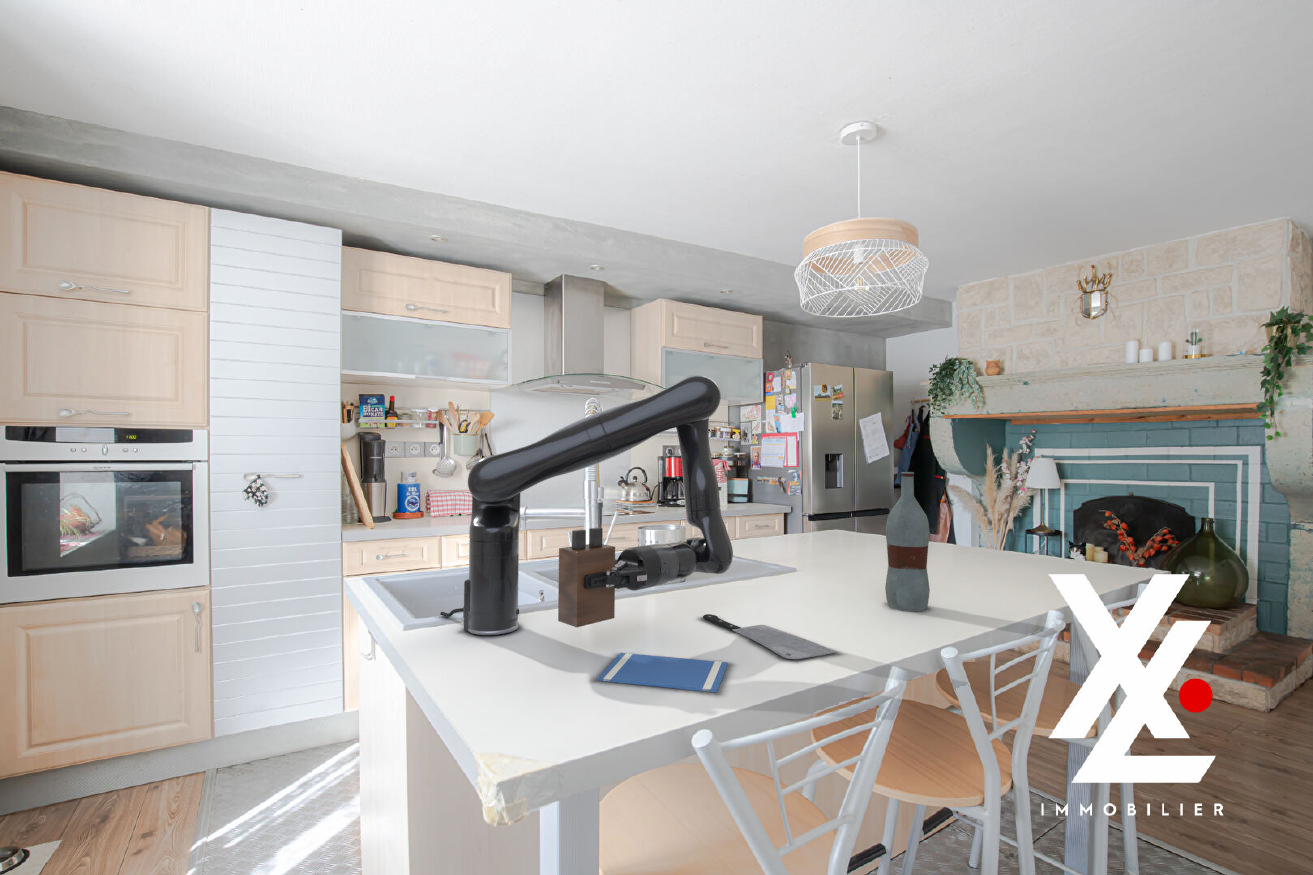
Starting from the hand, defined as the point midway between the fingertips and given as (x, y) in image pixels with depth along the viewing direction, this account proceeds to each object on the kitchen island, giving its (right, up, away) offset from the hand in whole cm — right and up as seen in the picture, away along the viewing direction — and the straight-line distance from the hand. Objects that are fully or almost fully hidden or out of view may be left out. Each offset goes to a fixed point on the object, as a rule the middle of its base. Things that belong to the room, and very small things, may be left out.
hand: (574, 579), depth 102 cm
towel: (+15, -13, -5) cm, 20 cm away
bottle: (+69, -15, +38) cm, 80 cm away
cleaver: (+33, -14, +16) cm, 39 cm away
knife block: (+2, -7, +2) cm, 7 cm away
